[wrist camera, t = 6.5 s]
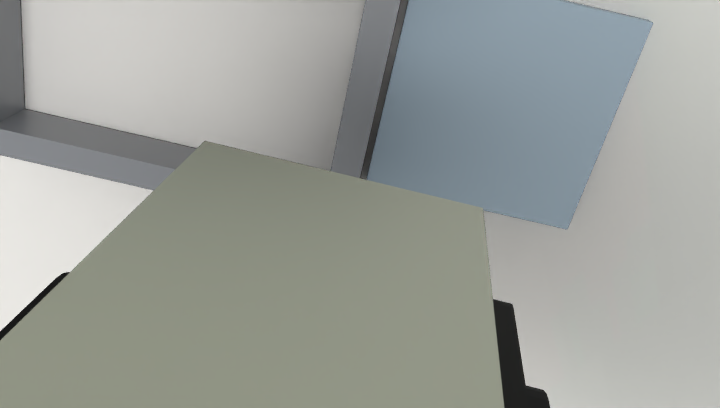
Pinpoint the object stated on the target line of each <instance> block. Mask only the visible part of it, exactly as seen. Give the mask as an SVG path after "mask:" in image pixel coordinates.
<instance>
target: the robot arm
mask: <svg viewBox="0 0 720 408" xmlns="http://www.w3.org/2000/svg"><path fill="white" fill-rule="evenodd" d="M69 273H70V272H67V273H63V274H61V275H60V276H58V277H57V278H56V279H55V280H54V281H53V282H52V283H50V284H49V285H48V286H47V287H46V288H45V289H44V290H43V291H42V292H41V293H40V294H39V295H38V296H37V297H36V298H35V299H34V300H33V301H32V302H31V303H30V304H29V305H27V306H26V307H25V308H24V309H23V310H22V311H21V312H20V313H19V314H18V315H17V316H16V317H15V318H14V319H13V320H12V321H11V322H10V323H9V324H8V325H7V326H5V327H4V328H3V329H2V330H1V331H0V340H1V339H2V338H3V337H4V336H5V335H6V334H7V333H8V332H9V331H10V330H12V329H13V328H14V327H15V326H16V325H17V324H18V323H19V322H20V321H21V320H22V319H23V318H24V317H25V316H26V315H27V314H28V313H29V312H30V311H31V310H32V309H33V308H34V307H35V306H36V305H37V304H38V303H39V302H40V301H41V300H42V299H43V298H44V297H45V296H46V295H47V294H48V293H49V292H50V291H51V290H52V289H54V288H55V287H56V286H57V285H58V284H59V283H60V282H61V281H62V280H63V279H64V278H65V277H66V276H67V275H68V274H69ZM493 307H494V316H495V325H496V335H497V344H498V353H499V363H500V372H501V381H502V391H503V400H504V408H550V405H549V400H548V397H547V394H546V393H545V391H544V390H541V389H537V388H533V387H529V386H526V385H525V379H524V372H523V366H522V360H521V353H520V347H519V340H518V334H517V328H516V321H515V315H514V308H513V305H512V304H510V303H506V302H502V301H498V300H494V299H493Z"/></svg>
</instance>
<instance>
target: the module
mask: <svg viewBox="0 0 720 408" xmlns="http://www.w3.org/2000/svg"><path fill="white" fill-rule="evenodd" d="M0 408H504V400H503V391H502V381H501V372H500V363H499V353H498V344H497V335H496V325H495V316H494V307H493V297H492V288H491V279H490V269H489V260H488V251H487V241H486V232H485V223H484V213H483V208H481V207H477V206H473V205H469V204H465V203H460V202H456V201H452V200H448V199H444V198H440V197H436V196H431V195H427V194H423V193H419V192H415V191H411V190H406V189H402V188H398V187H394V186H390V185H386V184H382V183H377V182H373V181H369V180H365V179H361V178H357V177H352V176H348V175H344V174H340V173H336V172H332V171H328V170H323V169H319V168H315V167H311V166H307V165H303V164H299V163H294V162H290V161H286V160H282V159H278V158H274V157H269V156H265V155H261V154H257V153H253V152H249V151H245V150H240V149H236V148H232V147H228V146H224V145H220V144H215V143H211V142H207V141H204V142H203V143H202V144H201V145H200V146H199V147H198V148H197V149H196V150H195V151H194V152H193V153H192V154H191V155H190V156H189V157H188V158H187V159H186V160H185V161H184V162H183V163H182V164H181V165H179V166H178V167H177V168H176V169H175V170H174V171H173V172H172V173H171V174H170V175H169V176H168V177H167V178H166V179H165V180H164V181H163V182H162V183H161V184H160V185H159V186H158V187H157V188H156V189H155V190H154V191H153V192H152V193H151V194H150V195H149V196H148V197H147V198H146V199H145V200H144V201H143V202H142V203H141V204H140V205H139V206H137V207H136V208H135V209H134V210H133V211H132V212H131V213H130V214H129V215H128V216H127V217H126V218H125V219H124V220H123V221H122V222H121V223H120V224H119V225H118V226H117V227H116V228H115V229H114V230H113V231H112V232H111V233H110V234H109V235H108V236H107V237H106V238H105V239H104V240H103V241H102V242H101V243H100V244H99V245H98V246H97V247H96V248H94V249H93V250H92V251H91V252H90V253H89V254H88V255H87V256H86V257H85V258H84V259H83V260H82V261H81V262H80V263H79V264H78V265H77V266H76V267H75V268H74V269H73V270H72V271H71V272H70V273H69V274H68V275H67V276H66V277H65V278H64V279H63V280H62V281H61V282H60V283H59V284H58V285H57V286H56V287H55V288H54V289H52V290H51V291H50V292H49V293H48V294H47V295H46V296H45V297H44V298H43V299H42V300H41V301H40V302H39V303H38V304H37V305H36V306H35V307H34V308H33V309H32V310H31V311H30V312H29V313H28V314H27V315H26V316H25V317H24V318H23V319H22V320H21V321H20V322H19V323H18V324H17V325H16V326H15V327H14V328H13V329H12V330H10V331H9V332H8V333H7V334H6V335H5V336H4V337H3V338H2V339H1V340H0Z"/></svg>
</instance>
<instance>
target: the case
mask: <svg viewBox="0 0 720 408" xmlns="http://www.w3.org/2000/svg"><path fill="white" fill-rule="evenodd" d="M400 1H401V0H366V1H365V6H364V11H363V16H362V21H361V25H360V30H359V35H358V40H357V45H356V50H355V55H354V60H353V64H352V69H351V74H350V79H349V84H348V89H347V94H346V99H345V104H344V108H343V113H342V118H341V123H340V128H339V133H338V138H337V143H336V148H335V152H334V157H333V162H332V167H331V171H332V172H336V173H340V174H344V175H348V176H352V177H357V178H360V175H361V171H362V167H363V162H364V158H365V154H366V149H367V145H368V141H369V136H370V132H371V128H372V123H373V119H374V114H375V110H376V106H377V101H378V97H379V93H380V88H381V84H382V80H383V75H384V71H385V67H386V62H387V58H388V54H389V49H390V45H391V40H392V36H393V32H394V27H395V23H396V19H397V14H398V10H399V6H400ZM195 150H196V148H192V147H188V146H183V145H179V144H175V143H170V142H166V141H162V140H157V139H153V138H149V137H144V136H140V135H136V134H131V133H127V132H123V131H118V130H114V129H110V128H105V127H101V126H97V125H92V124H88V123H84V122H79V121H75V120H71V119H66V118H62V117H58V116H53V115H49V114H45V113H40V112H36V111H32V110H27V109H25V104H24V80H23V55H22V30H21V6H20V0H0V155H2V156H7V157H11V158H15V159H20V160H24V161H28V162H33V163H37V164H41V165H46V166H50V167H54V168H59V169H63V170H68V171H72V172H76V173H81V174H85V175H89V176H94V177H98V178H102V179H107V180H111V181H115V182H120V183H124V184H128V185H133V186H137V187H141V188H146V189H150V190H155V189H156V188H157V187H158V186H159V185H160V184H161V183H162V182H163V181H164V180H165V179H166V178H167V177H168V176H169V175H170V174H171V173H172V172H173V171H174V170H175V169H176V168H177V167H178V166H179V165H181V164H182V163H183V162H184V161H185V160H186V159H187V158H188V157H189V156H190V155H191V154H192V153H193V152H194V151H195Z"/></svg>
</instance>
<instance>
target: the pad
mask: <svg viewBox="0 0 720 408" xmlns="http://www.w3.org/2000/svg"><path fill="white" fill-rule="evenodd" d="M652 25H653V22H651V21H649V20H646V19H642V18H638V17H633V16H629V15H625V14H620V13H616V12H612V11H608V10H603V9H599V8H595V7H590V6H586V5H582V4H578V3H573V2H569V1H565V0H409V1H408V5H407V10H406V14H405V18H404V22H403V27H402V31H401V35H400V39H399V44H398V48H397V52H396V56H395V61H394V65H393V69H392V73H391V78H390V82H389V86H388V90H387V95H386V99H385V103H384V107H383V112H382V116H381V120H380V124H379V129H378V133H377V137H376V141H375V146H374V150H373V154H372V158H371V163H370V167H369V171H368V175H367V180H369V181H373V182H377V183H382V184H386V185H390V186H394V187H398V188H402V189H406V190H411V191H415V192H419V193H423V194H427V195H431V196H436V197H440V198H444V199H448V200H452V201H456V202H460V203H465V204H469V205H473V206H477V207H481V208H483V210H485V211H489V212H494V213H498V214H502V215H507V216H511V217H515V218H520V219H524V220H528V221H533V222H537V223H541V224H546V225H550V226H554V227H558V228H563V229H568V227H569V224H570V222H571V220H572V217H573V215H574V212H575V210H576V208H577V205H578V203H579V200H580V198H581V196H582V193H583V191H584V188H585V186H586V184H587V181H588V179H589V176H590V174H591V172H592V169H593V167H594V164H595V162H596V159H597V157H598V155H599V152H600V150H601V147H602V145H603V143H604V140H605V138H606V135H607V133H608V131H609V128H610V126H611V123H612V121H613V119H614V116H615V114H616V111H617V109H618V107H619V104H620V102H621V99H622V97H623V95H624V92H625V90H626V87H627V85H628V82H629V80H630V78H631V75H632V73H633V70H634V68H635V66H636V63H637V61H638V58H639V56H640V54H641V51H642V49H643V46H644V44H645V42H646V39H647V37H648V34H649V32H650V30H651V27H652Z"/></svg>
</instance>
